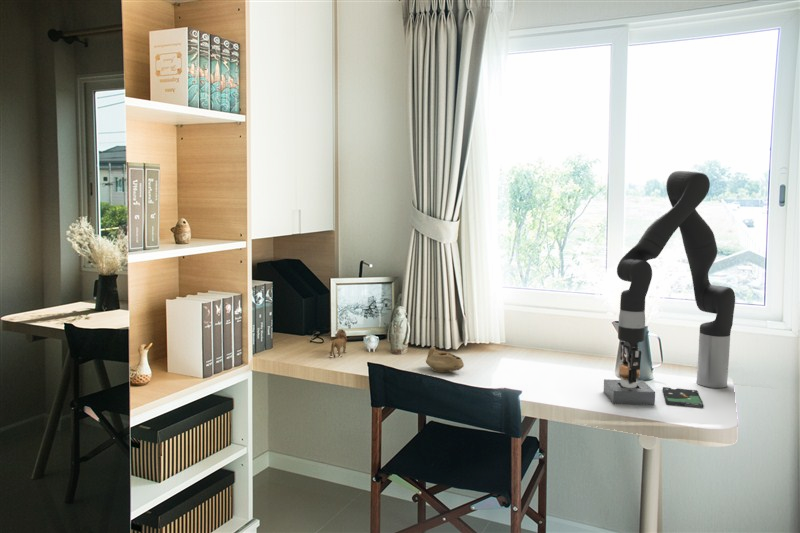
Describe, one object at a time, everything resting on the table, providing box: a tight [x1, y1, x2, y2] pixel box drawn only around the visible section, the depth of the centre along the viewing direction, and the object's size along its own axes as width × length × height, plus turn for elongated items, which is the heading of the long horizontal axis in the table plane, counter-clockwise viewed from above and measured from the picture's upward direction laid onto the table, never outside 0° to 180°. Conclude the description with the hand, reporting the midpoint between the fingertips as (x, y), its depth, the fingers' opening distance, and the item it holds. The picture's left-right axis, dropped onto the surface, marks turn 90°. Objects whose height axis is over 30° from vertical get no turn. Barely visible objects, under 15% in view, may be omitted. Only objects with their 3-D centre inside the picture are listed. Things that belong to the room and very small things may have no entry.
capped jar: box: [618, 363, 641, 388], centre depth 196 cm, size 6×6×10 cm
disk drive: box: [662, 386, 704, 409], centre depth 197 cm, size 10×3×15 cm
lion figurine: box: [329, 328, 348, 359], centre depth 252 cm, size 15×5×9 cm, turn 175°
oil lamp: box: [425, 346, 465, 373], centre depth 230 cm, size 11×15×8 cm
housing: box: [603, 379, 656, 406], centre depth 197 cm, size 12×12×5 cm
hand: (629, 378), depth 196 cm, fingers closed on capped jar, 6 cm apart
